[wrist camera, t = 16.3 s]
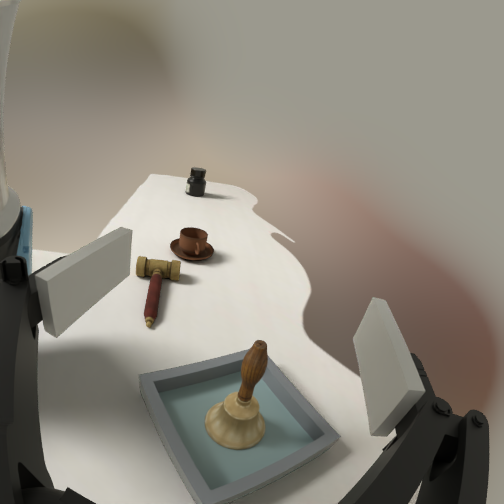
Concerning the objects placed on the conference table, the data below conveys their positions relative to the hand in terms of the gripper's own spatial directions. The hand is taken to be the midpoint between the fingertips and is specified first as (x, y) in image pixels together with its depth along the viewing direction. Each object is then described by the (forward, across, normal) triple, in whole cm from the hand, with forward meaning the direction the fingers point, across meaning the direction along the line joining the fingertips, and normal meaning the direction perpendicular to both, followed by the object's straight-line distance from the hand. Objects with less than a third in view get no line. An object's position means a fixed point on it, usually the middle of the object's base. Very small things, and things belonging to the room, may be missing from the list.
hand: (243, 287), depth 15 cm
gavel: (+34, -20, -28) cm, 48 cm away
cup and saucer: (+57, -20, -26) cm, 66 cm away
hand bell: (+10, +3, -27) cm, 29 cm away
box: (+11, +2, -28) cm, 30 cm away
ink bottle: (+115, -40, -23) cm, 124 cm away
